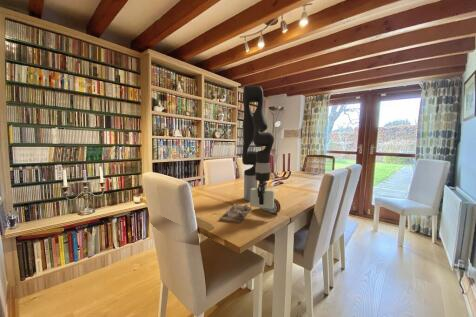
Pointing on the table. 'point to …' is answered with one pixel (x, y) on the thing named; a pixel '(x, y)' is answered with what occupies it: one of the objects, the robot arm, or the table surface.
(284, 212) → the table surface
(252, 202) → the cream rectangular box
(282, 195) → the table surface
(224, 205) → the table surface
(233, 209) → the hinge panel
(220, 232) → the table surface
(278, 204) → the tin
